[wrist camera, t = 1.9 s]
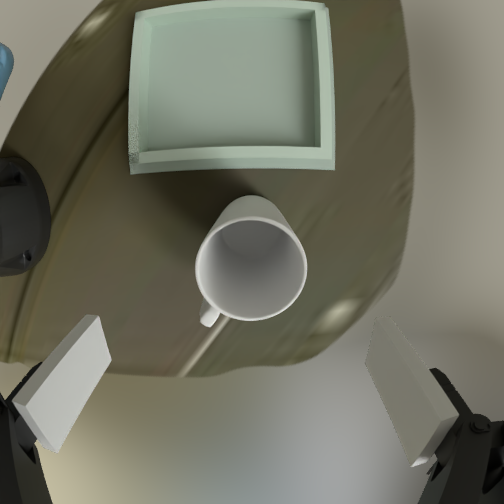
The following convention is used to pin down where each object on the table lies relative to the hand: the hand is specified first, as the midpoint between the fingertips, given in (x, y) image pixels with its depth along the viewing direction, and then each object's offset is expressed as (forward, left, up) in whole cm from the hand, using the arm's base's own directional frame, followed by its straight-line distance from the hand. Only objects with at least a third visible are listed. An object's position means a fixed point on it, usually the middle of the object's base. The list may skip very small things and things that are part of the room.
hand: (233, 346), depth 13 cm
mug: (0, 0, -18) cm, 18 cm away
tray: (-1, +16, -18) cm, 24 cm away
